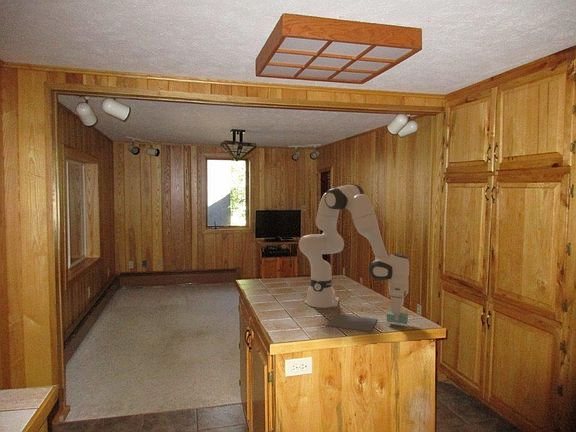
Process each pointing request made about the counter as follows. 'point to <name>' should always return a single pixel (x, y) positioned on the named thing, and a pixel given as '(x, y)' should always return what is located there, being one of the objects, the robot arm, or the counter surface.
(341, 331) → the counter surface
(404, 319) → the teal rectangular block
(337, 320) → the mat
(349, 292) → the counter surface
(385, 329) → the counter surface
